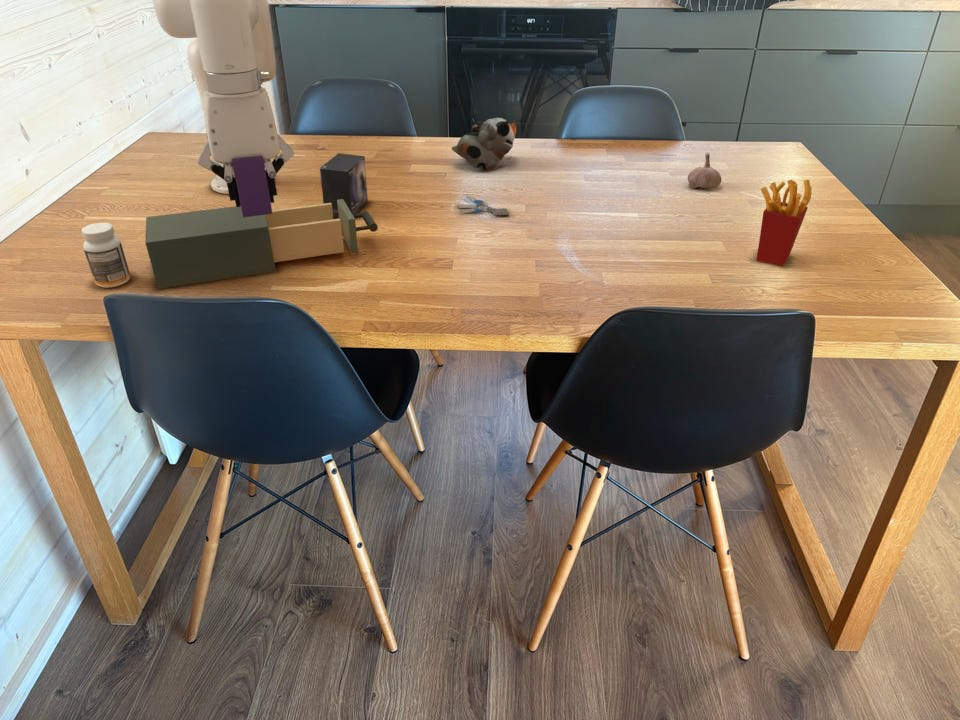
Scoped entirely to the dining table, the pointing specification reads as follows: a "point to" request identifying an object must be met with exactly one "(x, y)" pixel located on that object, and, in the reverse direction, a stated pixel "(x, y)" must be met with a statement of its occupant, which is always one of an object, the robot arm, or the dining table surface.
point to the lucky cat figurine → (487, 143)
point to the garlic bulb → (704, 176)
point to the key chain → (495, 211)
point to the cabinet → (207, 246)
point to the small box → (344, 182)
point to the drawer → (314, 230)
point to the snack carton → (252, 186)
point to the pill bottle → (105, 255)
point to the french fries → (781, 222)
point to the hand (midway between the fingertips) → (254, 200)
